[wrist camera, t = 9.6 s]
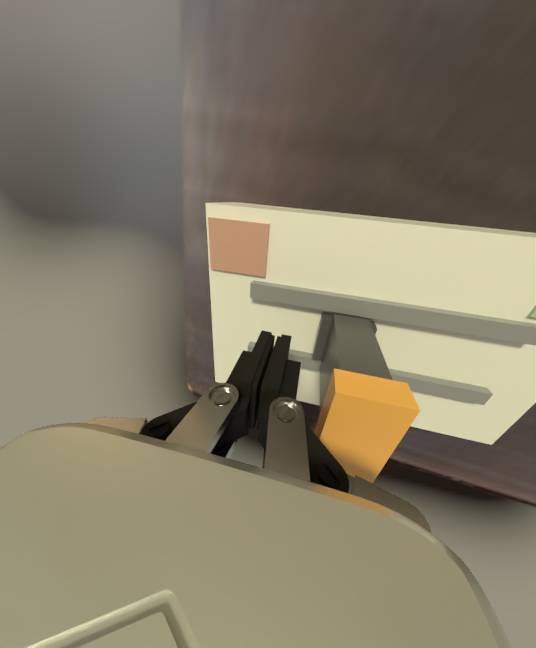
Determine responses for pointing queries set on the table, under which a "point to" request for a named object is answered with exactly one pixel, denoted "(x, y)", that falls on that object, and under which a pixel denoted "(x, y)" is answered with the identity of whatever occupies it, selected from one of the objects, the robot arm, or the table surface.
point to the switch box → (385, 304)
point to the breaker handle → (359, 396)
